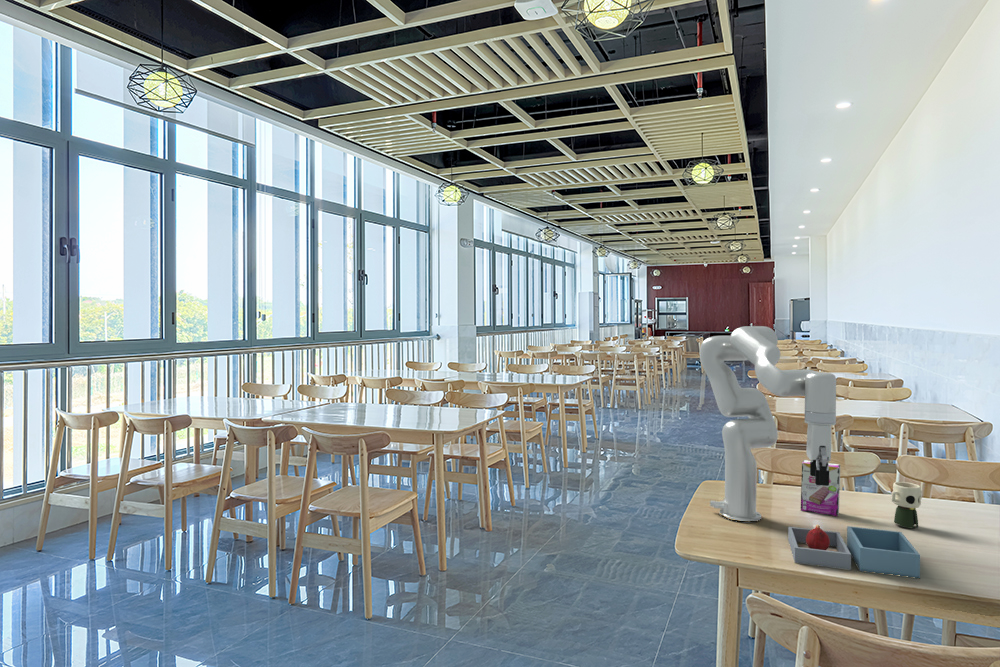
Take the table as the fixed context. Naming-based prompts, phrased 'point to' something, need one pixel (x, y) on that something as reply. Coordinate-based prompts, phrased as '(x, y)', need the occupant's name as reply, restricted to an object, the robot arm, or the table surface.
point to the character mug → (906, 503)
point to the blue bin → (883, 552)
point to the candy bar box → (820, 491)
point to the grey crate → (819, 556)
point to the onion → (817, 539)
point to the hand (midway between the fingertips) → (819, 480)
